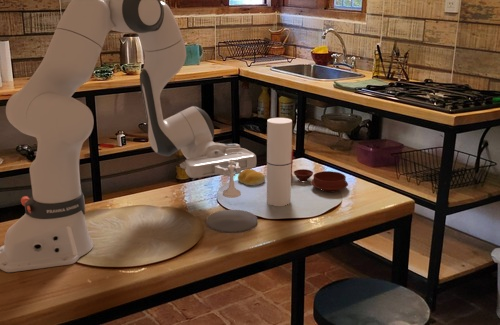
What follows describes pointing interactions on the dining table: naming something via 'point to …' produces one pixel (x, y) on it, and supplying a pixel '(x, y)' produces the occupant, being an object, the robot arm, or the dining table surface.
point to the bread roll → (251, 177)
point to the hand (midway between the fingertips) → (233, 172)
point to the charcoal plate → (231, 221)
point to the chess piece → (231, 183)
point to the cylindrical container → (279, 161)
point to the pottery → (323, 179)
